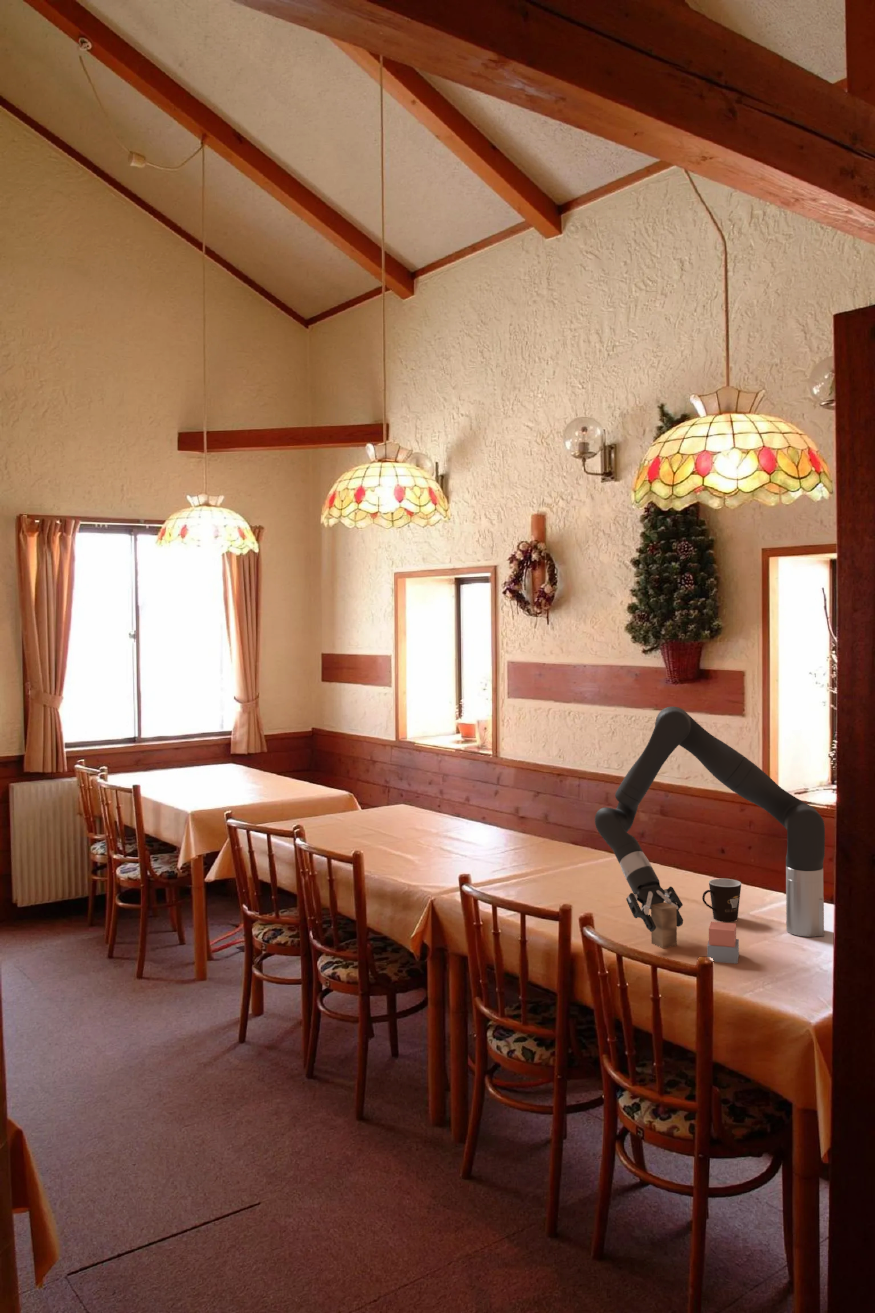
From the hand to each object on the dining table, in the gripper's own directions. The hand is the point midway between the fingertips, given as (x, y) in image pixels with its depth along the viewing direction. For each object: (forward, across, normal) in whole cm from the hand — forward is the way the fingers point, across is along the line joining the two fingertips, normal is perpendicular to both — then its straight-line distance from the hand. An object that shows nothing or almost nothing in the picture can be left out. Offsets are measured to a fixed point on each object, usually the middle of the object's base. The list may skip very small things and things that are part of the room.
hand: (667, 927), depth 258 cm
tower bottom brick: (+13, +6, -6) cm, 16 cm away
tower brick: (+10, +6, -9) cm, 15 cm away
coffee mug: (-5, +27, +11) cm, 30 cm away
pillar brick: (+2, 0, +4) cm, 5 cm away
